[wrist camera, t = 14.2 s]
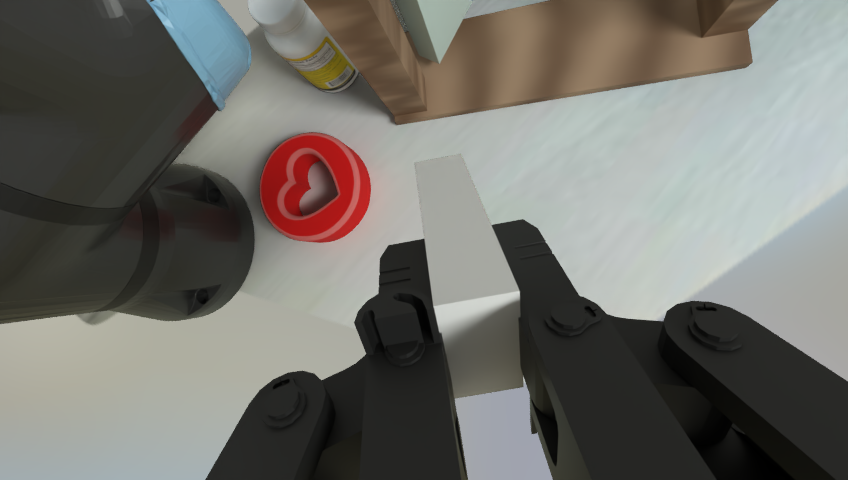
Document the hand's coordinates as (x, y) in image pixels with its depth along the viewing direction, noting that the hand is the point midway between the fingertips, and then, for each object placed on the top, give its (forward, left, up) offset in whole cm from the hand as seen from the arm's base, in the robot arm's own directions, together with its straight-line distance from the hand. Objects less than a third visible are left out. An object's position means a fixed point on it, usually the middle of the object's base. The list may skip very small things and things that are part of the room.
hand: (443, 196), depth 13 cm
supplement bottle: (-15, +15, -20) cm, 29 cm away
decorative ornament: (-15, +3, -20) cm, 25 cm away
